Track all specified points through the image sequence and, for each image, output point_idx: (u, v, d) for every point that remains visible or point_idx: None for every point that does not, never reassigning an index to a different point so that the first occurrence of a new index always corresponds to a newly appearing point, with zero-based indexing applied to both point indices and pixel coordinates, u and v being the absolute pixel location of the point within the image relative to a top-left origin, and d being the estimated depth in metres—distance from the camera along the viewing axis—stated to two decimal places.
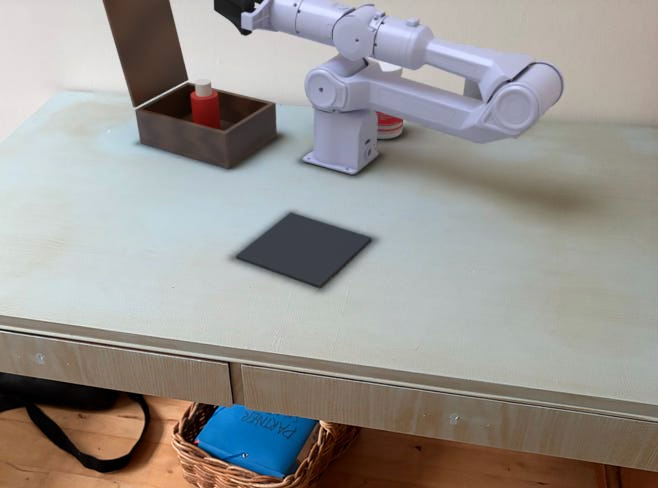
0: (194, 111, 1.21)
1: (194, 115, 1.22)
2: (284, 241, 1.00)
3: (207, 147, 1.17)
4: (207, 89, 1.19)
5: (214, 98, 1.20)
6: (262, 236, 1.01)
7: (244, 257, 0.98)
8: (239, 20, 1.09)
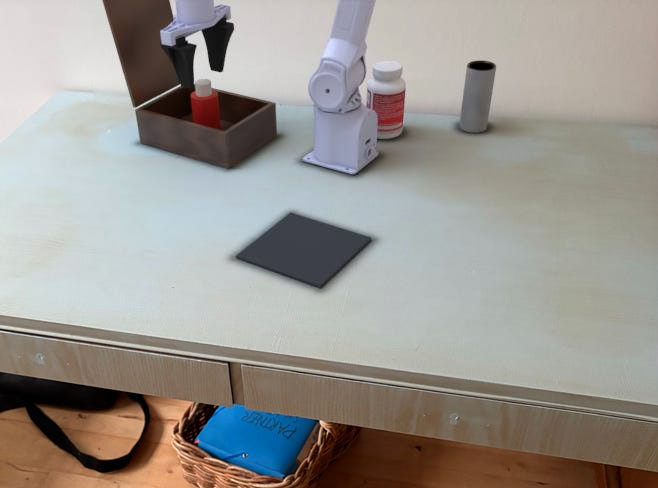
0: (194, 111, 1.21)
1: (194, 115, 1.22)
2: (284, 241, 1.00)
3: (207, 147, 1.17)
4: (207, 89, 1.19)
5: (214, 98, 1.20)
6: (262, 236, 1.01)
7: (244, 257, 0.98)
8: None
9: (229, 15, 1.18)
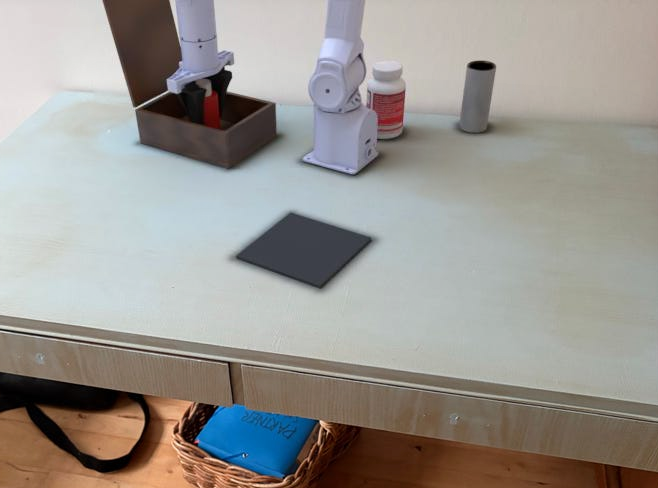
0: None
1: None
2: (284, 241, 1.00)
3: (207, 147, 1.17)
4: (207, 89, 1.19)
5: (214, 99, 1.20)
6: (262, 236, 1.01)
7: (244, 257, 0.98)
8: None
9: (232, 61, 1.22)
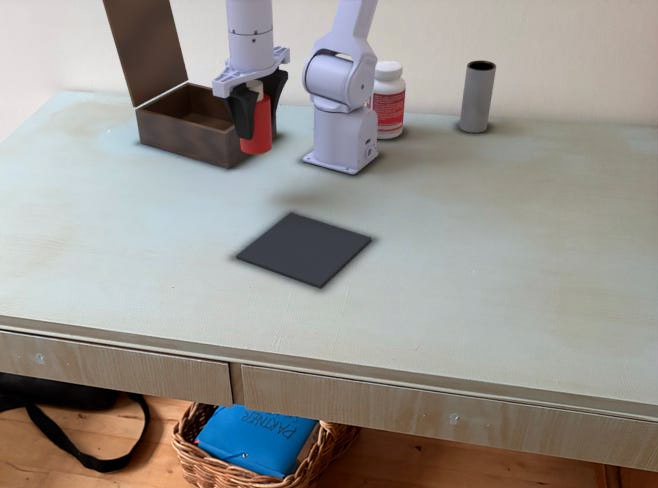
0: None
1: None
2: (284, 241, 1.00)
3: (207, 147, 1.17)
4: None
5: (267, 104, 0.99)
6: (262, 236, 1.01)
7: (244, 257, 0.98)
8: None
9: (288, 58, 1.02)
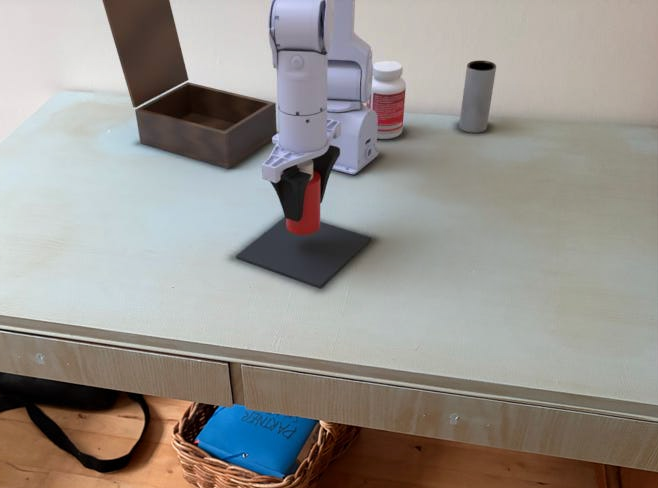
0: None
1: None
2: (284, 241, 1.00)
3: (207, 147, 1.17)
4: (308, 172, 0.91)
5: (317, 183, 0.92)
6: (262, 236, 1.01)
7: (244, 257, 0.98)
8: None
9: (339, 133, 0.94)
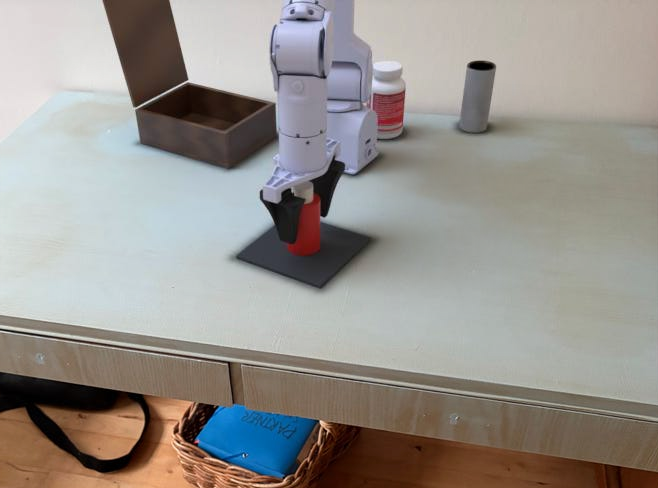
0: None
1: None
2: None
3: (207, 147, 1.17)
4: (308, 195, 0.93)
5: (317, 206, 0.94)
6: (262, 236, 1.01)
7: (244, 257, 0.98)
8: None
9: (338, 152, 0.96)
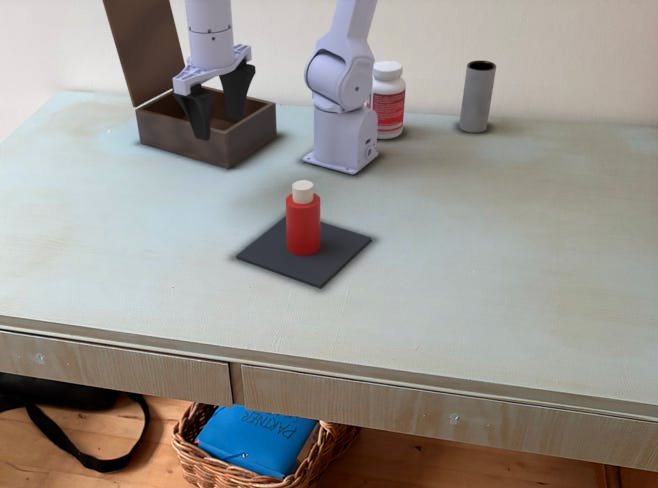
0: (290, 221, 0.95)
1: (289, 225, 0.95)
2: (284, 241, 1.00)
3: (207, 147, 1.17)
4: (308, 195, 0.93)
5: (317, 206, 0.94)
6: (262, 236, 1.01)
7: (244, 257, 0.98)
8: None
9: (250, 56, 1.03)
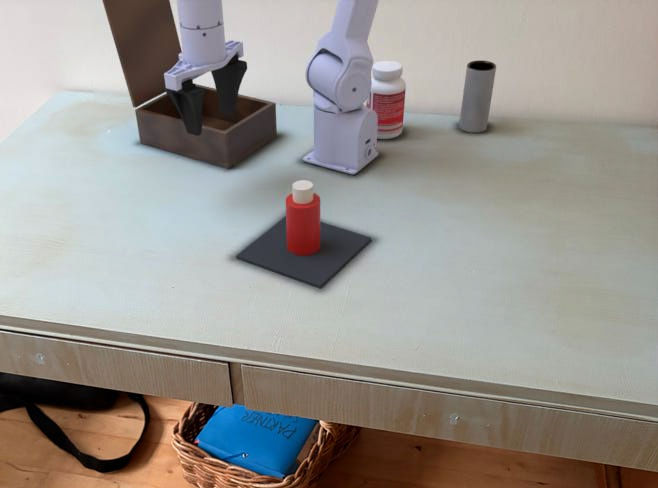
0: (290, 221, 0.95)
1: (289, 225, 0.95)
2: (284, 241, 1.00)
3: (207, 147, 1.17)
4: (308, 195, 0.93)
5: (317, 206, 0.94)
6: (262, 236, 1.01)
7: (244, 257, 0.98)
8: None
9: (241, 52, 1.04)
